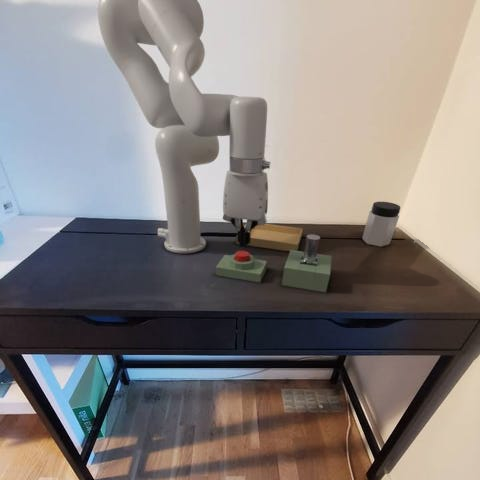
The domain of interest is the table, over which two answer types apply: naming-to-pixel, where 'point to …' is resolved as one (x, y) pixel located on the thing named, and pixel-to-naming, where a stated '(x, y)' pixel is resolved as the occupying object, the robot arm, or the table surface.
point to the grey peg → (311, 250)
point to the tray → (275, 237)
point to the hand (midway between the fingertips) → (243, 245)
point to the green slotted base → (307, 272)
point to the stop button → (242, 256)
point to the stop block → (241, 268)
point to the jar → (381, 223)
